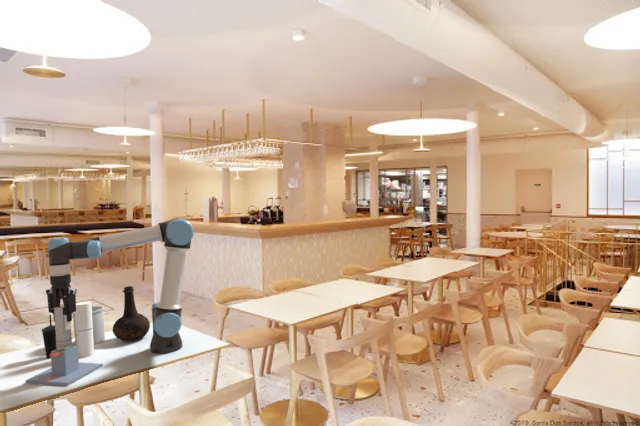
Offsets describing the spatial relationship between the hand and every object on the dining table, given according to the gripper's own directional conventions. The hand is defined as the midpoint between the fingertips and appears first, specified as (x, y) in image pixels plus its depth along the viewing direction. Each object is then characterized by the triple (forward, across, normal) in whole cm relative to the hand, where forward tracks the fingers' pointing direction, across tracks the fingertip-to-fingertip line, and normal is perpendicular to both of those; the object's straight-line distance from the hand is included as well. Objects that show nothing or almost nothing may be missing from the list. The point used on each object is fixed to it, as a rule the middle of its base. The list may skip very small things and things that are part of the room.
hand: (63, 328), depth 183 cm
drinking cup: (+20, +24, -18) cm, 36 cm away
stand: (+20, 0, 0) cm, 20 cm away
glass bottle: (+20, +1, -46) cm, 50 cm away
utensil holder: (+20, +21, -39) cm, 49 cm away
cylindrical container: (+20, +9, -22) cm, 31 cm away
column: (+12, 0, 0) cm, 12 cm away
